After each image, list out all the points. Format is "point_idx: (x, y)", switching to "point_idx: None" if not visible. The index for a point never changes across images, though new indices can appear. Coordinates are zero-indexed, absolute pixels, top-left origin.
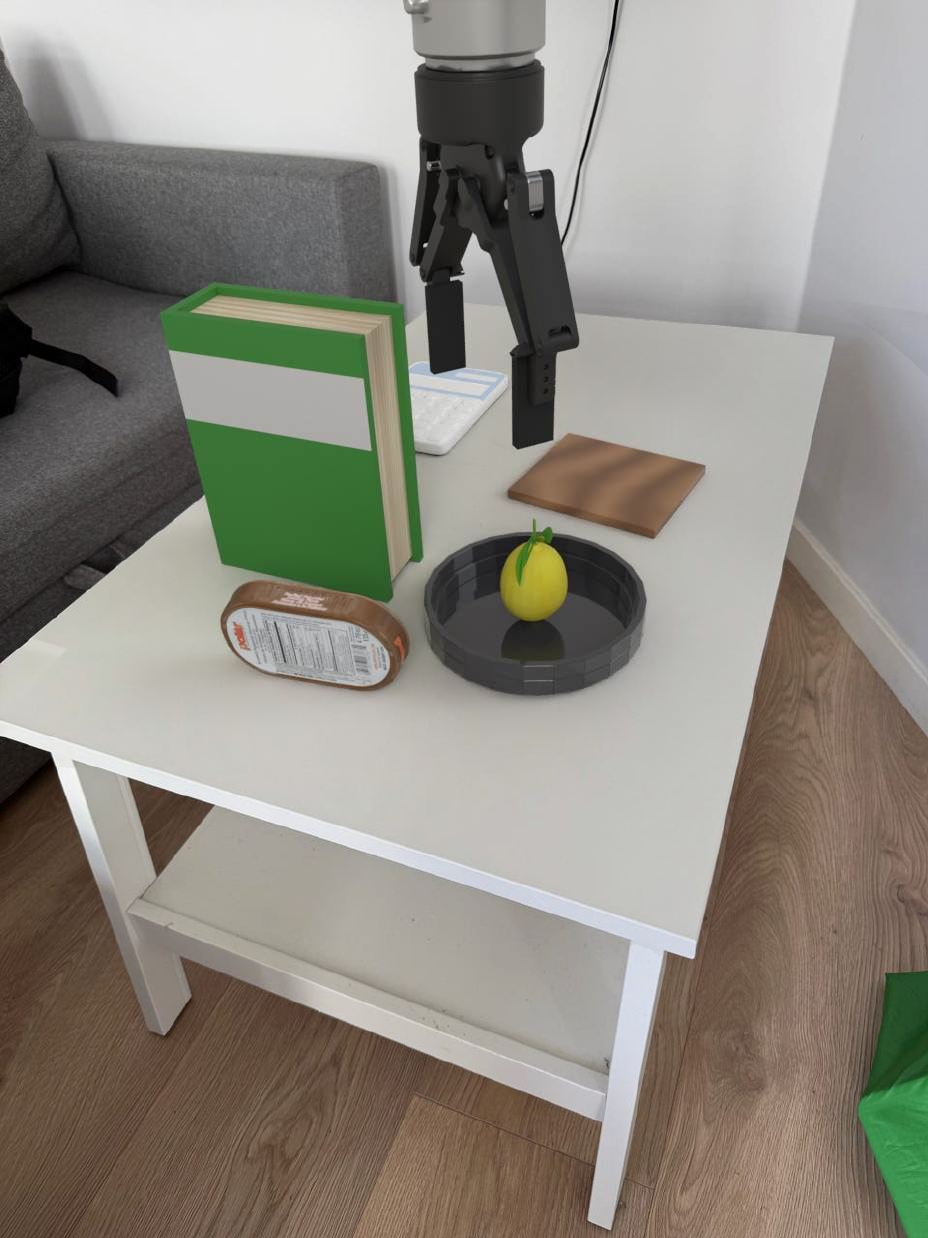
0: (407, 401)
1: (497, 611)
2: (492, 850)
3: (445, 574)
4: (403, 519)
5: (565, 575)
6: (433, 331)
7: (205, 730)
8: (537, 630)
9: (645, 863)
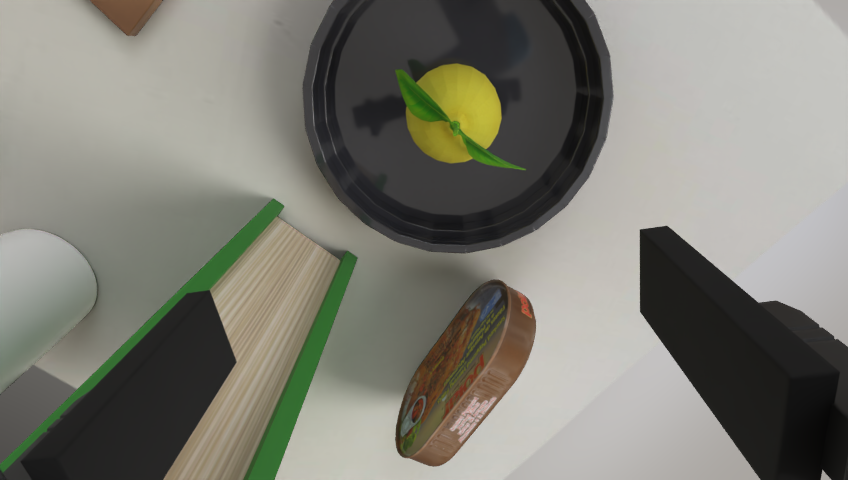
0: None
1: None
2: (742, 249)
3: (363, 204)
4: (268, 250)
5: (479, 75)
6: (185, 433)
7: (494, 431)
8: None
9: (837, 122)
